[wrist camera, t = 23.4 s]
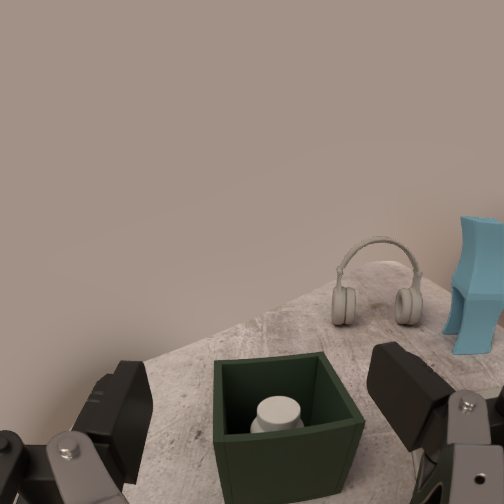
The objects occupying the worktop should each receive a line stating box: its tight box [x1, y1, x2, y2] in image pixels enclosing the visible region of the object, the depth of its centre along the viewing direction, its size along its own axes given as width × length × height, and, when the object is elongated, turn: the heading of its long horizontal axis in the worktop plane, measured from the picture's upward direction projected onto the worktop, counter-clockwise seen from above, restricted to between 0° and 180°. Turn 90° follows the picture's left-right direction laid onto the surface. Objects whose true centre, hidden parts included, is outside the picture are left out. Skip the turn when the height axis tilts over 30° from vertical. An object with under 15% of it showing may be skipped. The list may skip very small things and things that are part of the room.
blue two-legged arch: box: [442, 216, 504, 355], centre depth 43 cm, size 10×10×25 cm
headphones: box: [332, 236, 423, 325], centre depth 58 cm, size 20×8×19 cm, turn 78°
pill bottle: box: [250, 396, 304, 433], centre depth 25 cm, size 5×5×9 cm
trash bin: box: [213, 352, 366, 504], centre depth 25 cm, size 12×12×12 cm
